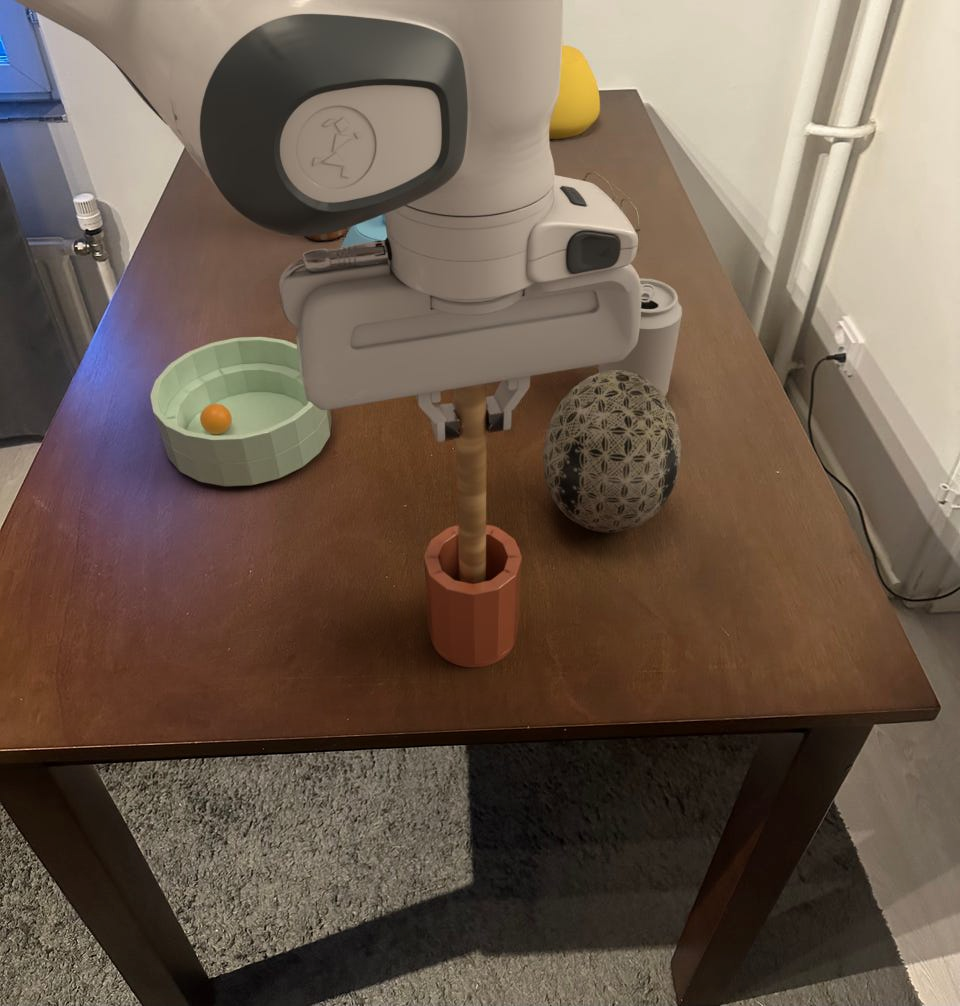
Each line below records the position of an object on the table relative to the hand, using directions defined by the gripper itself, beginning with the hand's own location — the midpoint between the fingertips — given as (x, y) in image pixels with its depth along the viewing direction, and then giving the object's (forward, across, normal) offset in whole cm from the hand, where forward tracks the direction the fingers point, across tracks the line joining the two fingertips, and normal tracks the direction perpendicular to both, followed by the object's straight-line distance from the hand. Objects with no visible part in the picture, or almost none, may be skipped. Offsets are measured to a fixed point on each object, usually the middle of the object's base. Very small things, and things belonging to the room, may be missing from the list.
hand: (471, 430), depth 57 cm
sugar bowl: (+21, +4, +52) cm, 56 cm away
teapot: (+21, +38, +100) cm, 109 cm away
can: (+21, +24, +26) cm, 42 cm away
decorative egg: (+21, +15, +10) cm, 28 cm away
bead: (+19, -18, +30) cm, 40 cm away
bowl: (+21, -15, +30) cm, 39 cm away
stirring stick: (+15, 0, 0) cm, 15 cm away
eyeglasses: (+21, +30, +61) cm, 71 cm away
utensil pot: (+21, 0, 0) cm, 21 cm away
